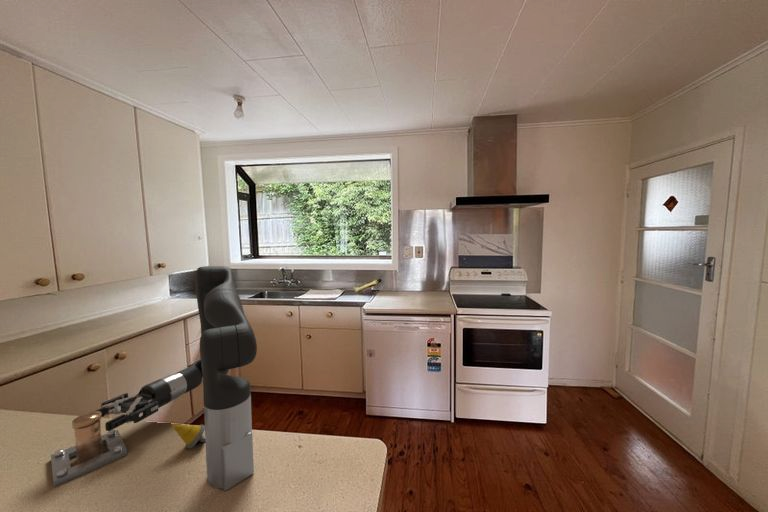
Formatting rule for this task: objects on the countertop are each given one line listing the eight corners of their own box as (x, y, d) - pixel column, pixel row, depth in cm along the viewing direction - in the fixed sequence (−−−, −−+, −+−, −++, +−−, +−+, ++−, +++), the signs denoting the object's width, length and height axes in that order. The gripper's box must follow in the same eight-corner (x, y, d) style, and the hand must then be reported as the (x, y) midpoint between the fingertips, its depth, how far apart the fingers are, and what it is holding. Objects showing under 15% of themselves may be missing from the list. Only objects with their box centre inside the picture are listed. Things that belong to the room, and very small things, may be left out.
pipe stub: (106, 455, 72) (103, 416, 71) (76, 468, 68) (73, 426, 67) (102, 446, 75) (99, 408, 74) (74, 458, 71) (70, 418, 70)
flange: (127, 454, 72) (126, 447, 72) (53, 487, 63) (52, 478, 63) (118, 433, 80) (117, 426, 79) (51, 459, 70) (50, 451, 70)
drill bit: (203, 453, 73) (166, 436, 69) (196, 453, 76) (159, 436, 72) (217, 430, 77) (182, 412, 73) (209, 430, 80) (176, 414, 76)
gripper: (147, 374, 89) (77, 403, 74) (180, 382, 85) (112, 414, 69) (148, 398, 90) (79, 432, 75) (181, 407, 85) (115, 445, 70)
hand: (95, 423), depth 72 cm, fingers open, 8 cm apart
